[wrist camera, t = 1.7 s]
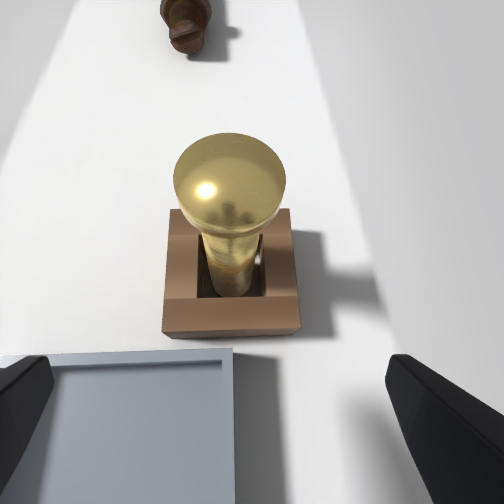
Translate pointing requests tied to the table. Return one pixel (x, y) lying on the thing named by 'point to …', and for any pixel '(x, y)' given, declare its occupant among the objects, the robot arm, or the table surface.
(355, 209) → the table surface
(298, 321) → the block
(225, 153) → the pin
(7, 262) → the table surface
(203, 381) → the tray
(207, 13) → the bolt
